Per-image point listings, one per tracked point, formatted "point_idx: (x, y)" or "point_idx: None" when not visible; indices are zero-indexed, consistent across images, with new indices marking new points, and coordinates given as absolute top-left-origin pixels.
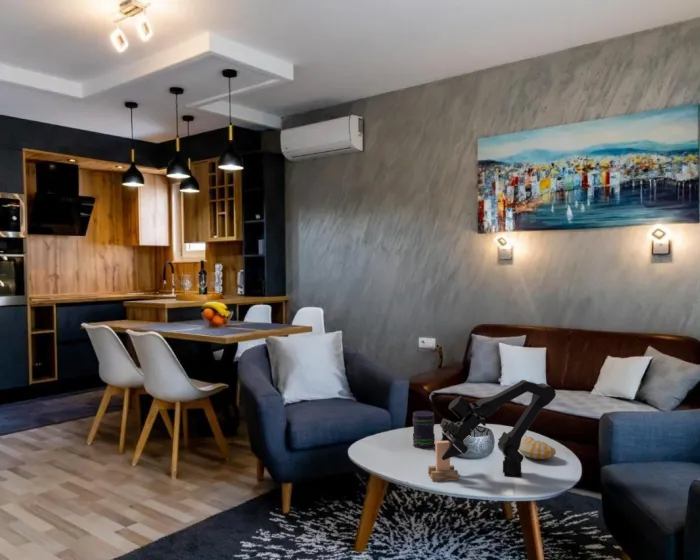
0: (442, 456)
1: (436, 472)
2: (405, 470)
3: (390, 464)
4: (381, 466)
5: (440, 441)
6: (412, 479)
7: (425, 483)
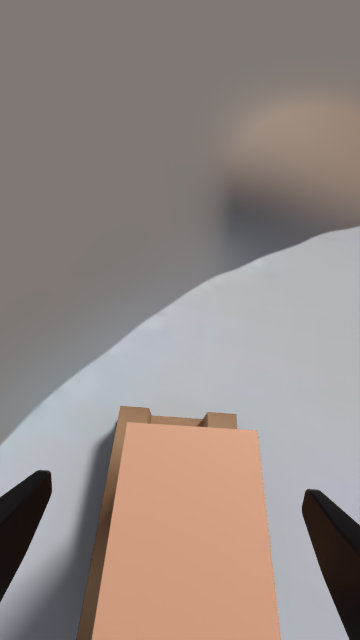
0: (34, 485)
1: (118, 435)
2: (278, 333)
3: (342, 297)
4: (315, 268)
5: (226, 562)
6: (171, 334)
7: (111, 374)
